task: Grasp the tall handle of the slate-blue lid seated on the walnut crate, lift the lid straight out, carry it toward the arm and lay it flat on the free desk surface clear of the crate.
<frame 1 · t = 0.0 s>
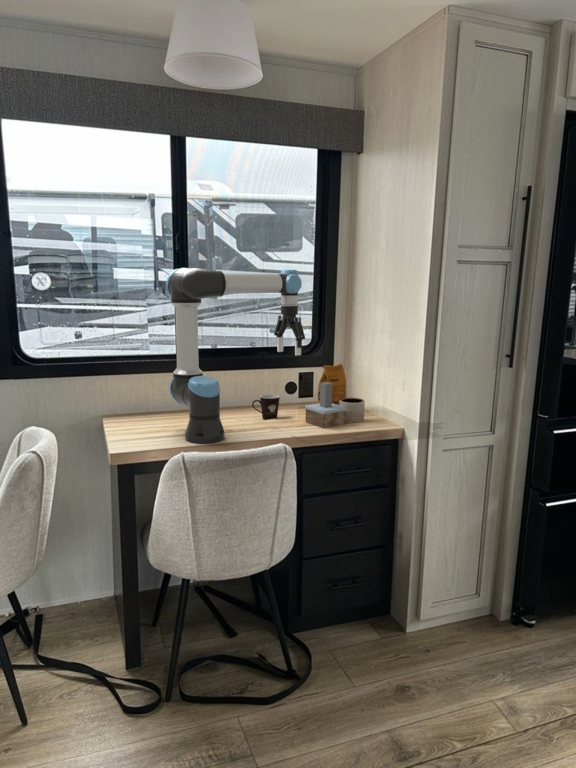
hand: (289, 353, 260), 28 cm above the table, fingers open, 13 cm apart
planter: (351, 422, 253), on the table
lid: (325, 409, 245), point 7 cm above the table, touching crate
coffee package: (331, 411, 273), on the table
coffee mug: (266, 418, 258), on the table
crate: (325, 425, 246), on the table
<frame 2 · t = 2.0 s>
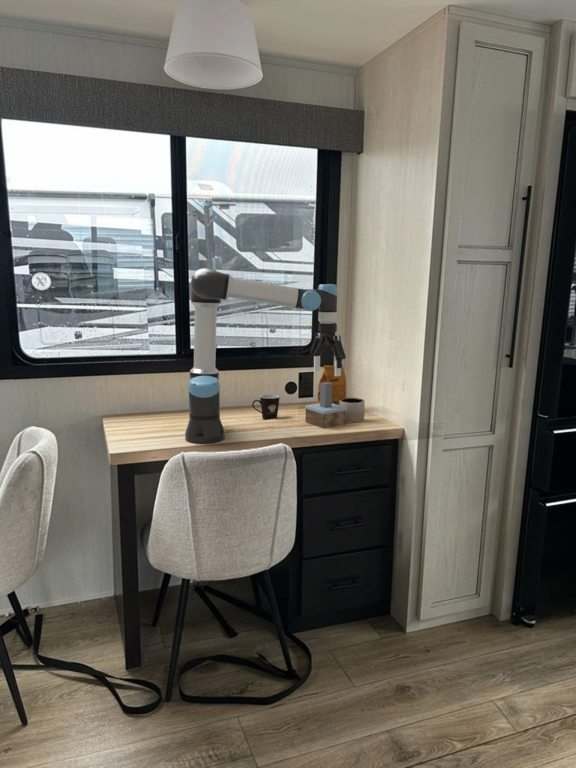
hand: (327, 373, 242), 22 cm above the table, fingers open, 13 cm apart
nothing on the table moved.
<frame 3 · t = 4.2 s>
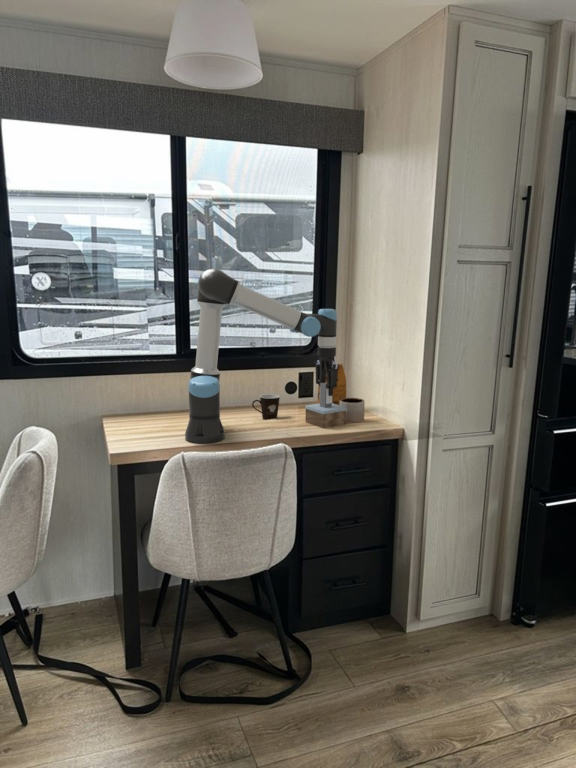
hand: (325, 402, 245), 10 cm above the table, fingers closed on lid, 3 cm apart
lid: (325, 409, 245), point 7 cm above the table, touching crate, gripper
everything else where it was.
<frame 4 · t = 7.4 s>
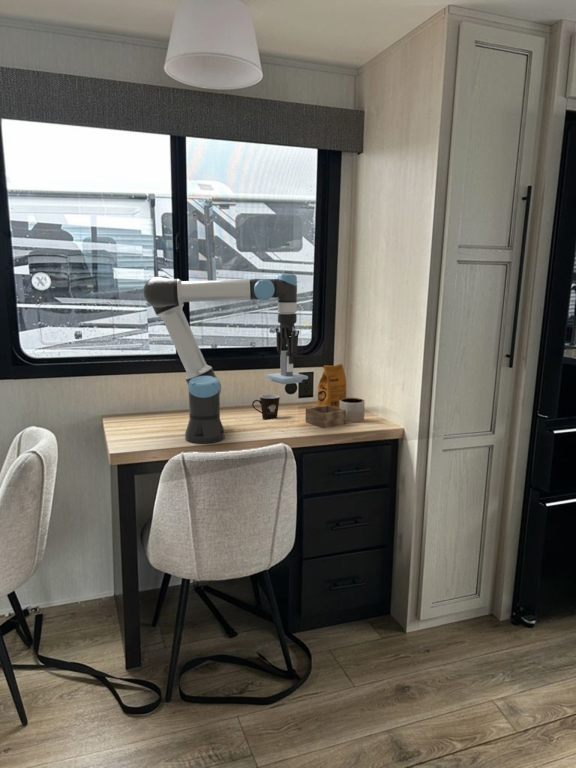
hand: (286, 370, 238), 24 cm above the table, fingers closed on lid, 3 cm apart
lid: (286, 378, 238), point 21 cm above the table, touching gripper
everything else where it was.
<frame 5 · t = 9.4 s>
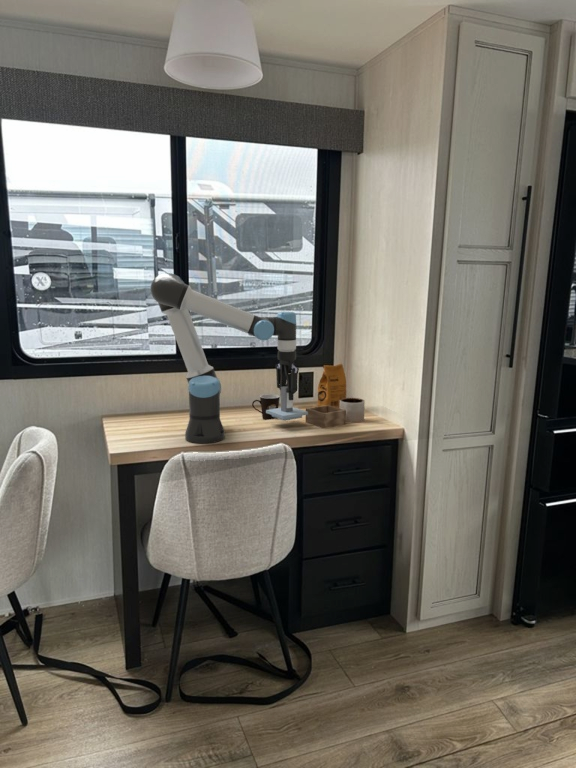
hand: (286, 406, 240), 9 cm above the table, fingers closed on lid, 3 cm apart
lid: (286, 413, 241), point 6 cm above the table, touching gripper
everything else where it was.
when the fingers open (6 cm above the table, at t = 10.7 s): lid drops 1 cm, point 1 cm above the table.
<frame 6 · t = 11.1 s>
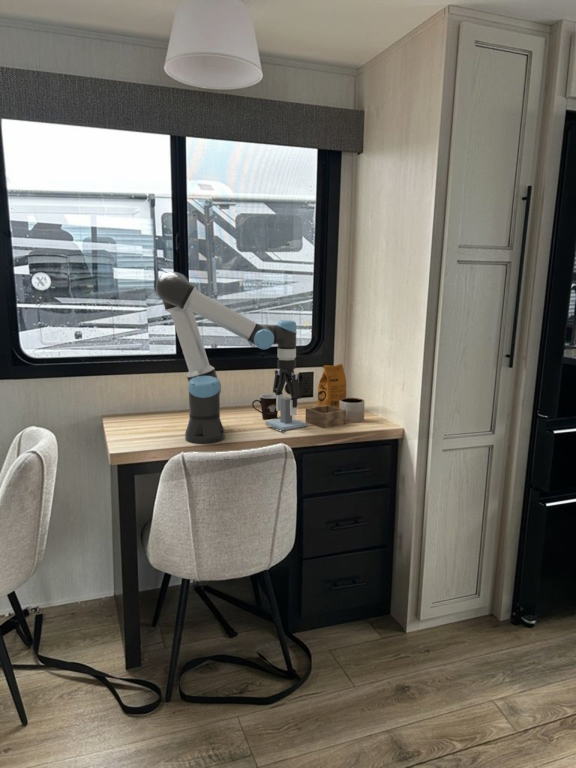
hand: (286, 412, 241), 7 cm above the table, fingers open, 9 cm apart
lid: (286, 424, 242), point 1 cm above the table
everything else where it was.
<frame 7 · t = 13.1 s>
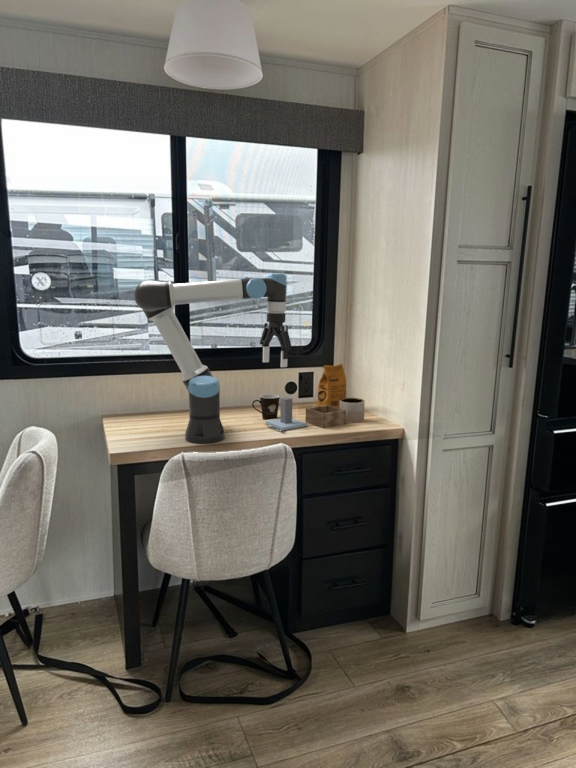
hand: (274, 364, 239), 26 cm above the table, fingers open, 13 cm apart
nothing on the table moved.
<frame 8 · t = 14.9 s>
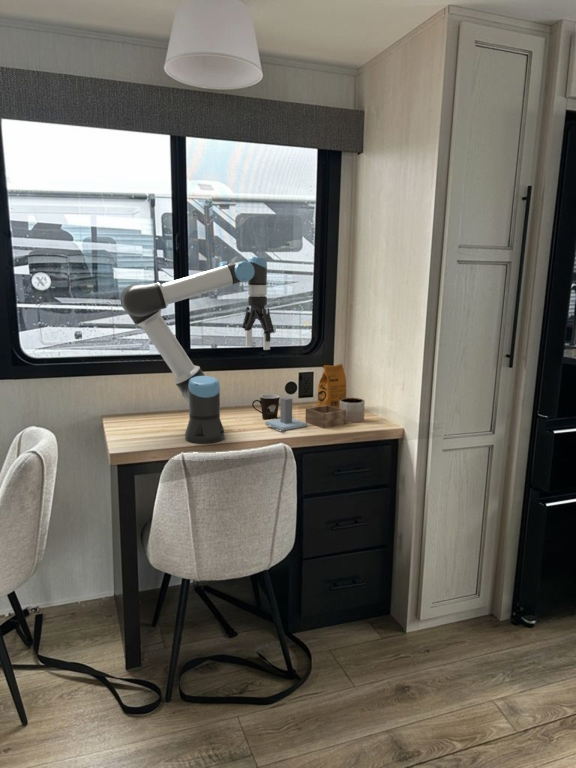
hand: (257, 347, 241), 33 cm above the table, fingers open, 13 cm apart
nothing on the table moved.
at the end: lid inside the target area (0.0 cm from its centre), point 1.2 cm above the table; lid tilted 0°; the gripper is holding nothing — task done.
